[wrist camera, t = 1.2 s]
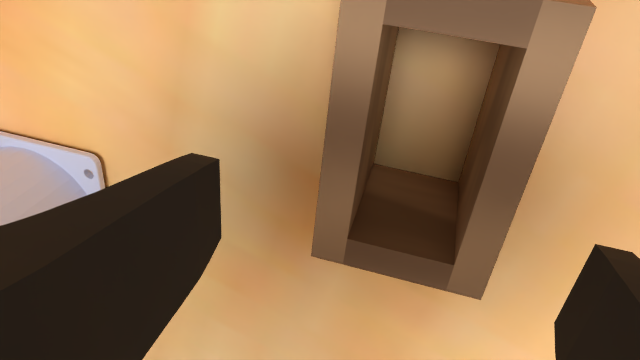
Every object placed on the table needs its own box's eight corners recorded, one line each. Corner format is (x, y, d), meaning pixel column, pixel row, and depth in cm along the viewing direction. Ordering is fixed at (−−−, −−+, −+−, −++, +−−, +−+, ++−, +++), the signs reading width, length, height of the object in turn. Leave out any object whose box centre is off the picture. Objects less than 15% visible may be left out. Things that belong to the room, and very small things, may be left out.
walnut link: (479, 211, 19) (480, 299, 15) (344, 180, 20) (311, 256, 16) (561, -28, 15) (596, 7, 10) (378, -55, 15) (344, -32, 11)
